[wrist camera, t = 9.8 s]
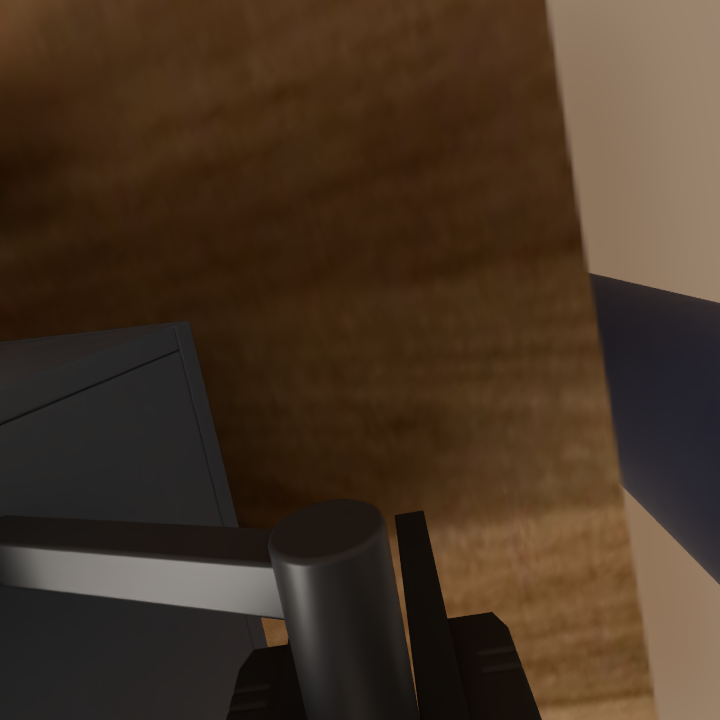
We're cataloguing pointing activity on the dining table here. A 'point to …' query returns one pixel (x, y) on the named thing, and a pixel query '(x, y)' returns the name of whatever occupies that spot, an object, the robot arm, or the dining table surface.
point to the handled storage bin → (168, 550)
